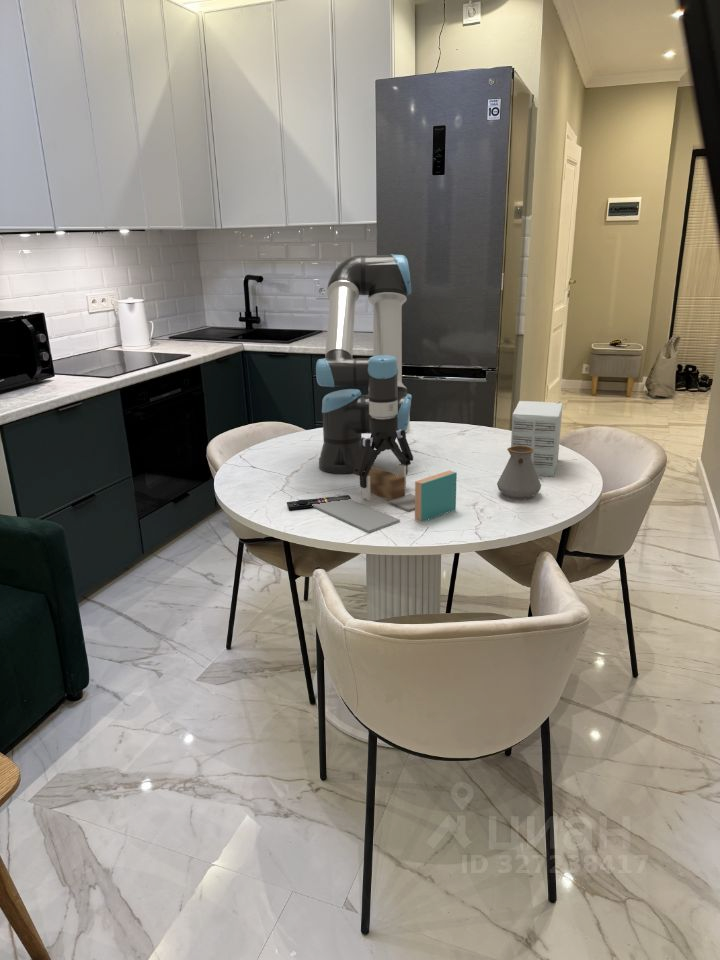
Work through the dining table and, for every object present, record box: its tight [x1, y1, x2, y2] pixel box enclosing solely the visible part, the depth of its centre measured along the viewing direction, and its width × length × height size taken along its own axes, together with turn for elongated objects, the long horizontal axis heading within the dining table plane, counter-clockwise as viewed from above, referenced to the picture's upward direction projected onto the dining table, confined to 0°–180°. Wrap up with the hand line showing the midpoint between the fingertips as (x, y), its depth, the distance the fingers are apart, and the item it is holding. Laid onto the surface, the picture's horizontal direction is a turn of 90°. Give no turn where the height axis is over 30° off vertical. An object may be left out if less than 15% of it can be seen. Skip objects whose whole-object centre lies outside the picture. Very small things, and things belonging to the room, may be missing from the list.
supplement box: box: [509, 400, 563, 477], centre depth 200 cm, size 17×13×18 cm
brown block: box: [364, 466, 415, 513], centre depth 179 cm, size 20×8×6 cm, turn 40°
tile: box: [414, 470, 457, 523], centre depth 167 cm, size 2×12×10 cm, turn 130°
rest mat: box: [311, 494, 401, 534], centre depth 170 cm, size 24×10×1 cm, turn 40°
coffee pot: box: [496, 446, 542, 501], centre depth 173 cm, size 21×12×15 cm, turn 166°
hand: (384, 492), depth 183 cm, fingers open, 12 cm apart
